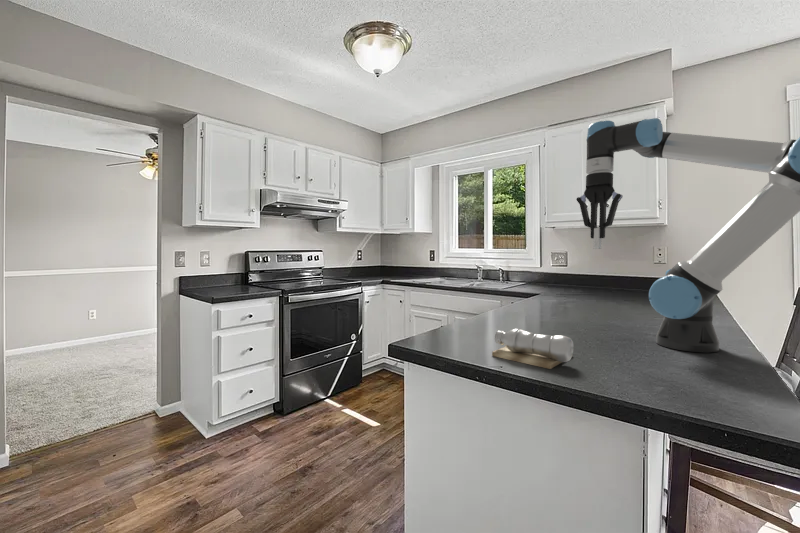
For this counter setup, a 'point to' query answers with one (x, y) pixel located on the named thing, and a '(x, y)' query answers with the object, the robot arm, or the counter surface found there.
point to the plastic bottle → (536, 344)
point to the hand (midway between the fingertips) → (597, 248)
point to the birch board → (526, 358)
